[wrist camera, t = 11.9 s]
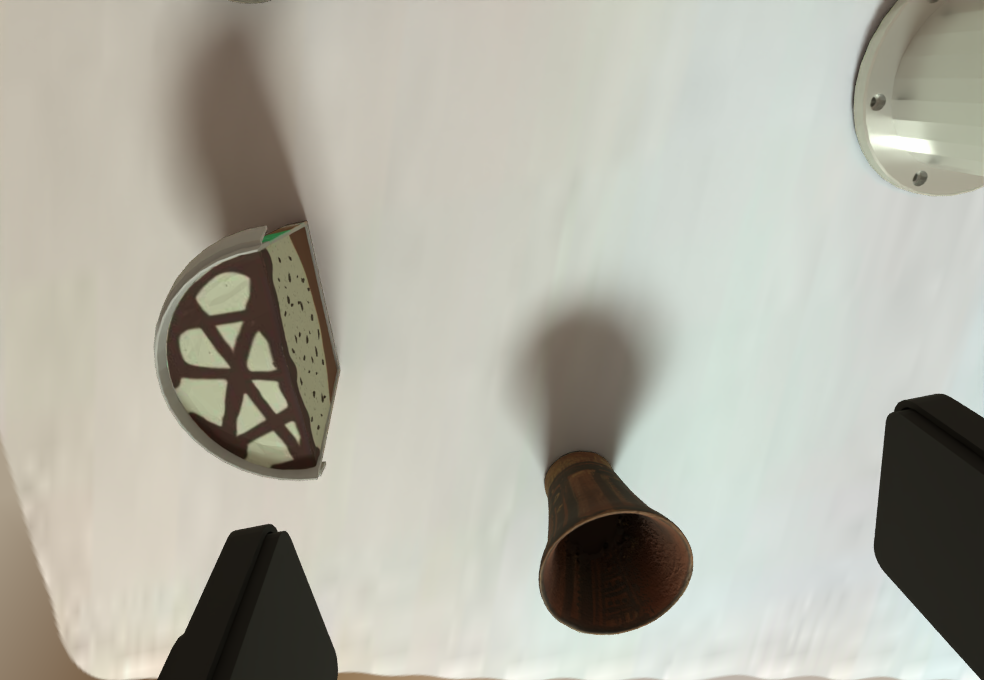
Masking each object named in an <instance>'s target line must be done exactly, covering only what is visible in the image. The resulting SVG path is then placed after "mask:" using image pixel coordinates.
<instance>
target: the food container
mask: <svg viewBox="0 0 984 680" xmlns="http://www.w3.org/2000/svg"><path fill="white" fill-rule="evenodd" d="M266 231H267V226H266V225H265V226H260V227H256V228H251V229H246V230H243V231H241V232H238V233H235V234H233V235H230V236H227V237H225V238H223V239H221V240H220V241H218V242H216V243H214V244H213V245H211V246H209V247H208V248H206V249H205V250H203V251H202V252H201V253H200V254H199V255H198V256H196V257H195V258H194V259H193V260H192V261H191V262H189V264H188V265H187V266H186V267H185V269H184V270H183V271H182V272H181V274H180V275H179V276H178V277H177V279H176V280H175V282H174V284H173V286H172V288H171V290H170V292H169V294H168V295H167V298H166V300H165V302H164V305H163V307H162V310H161V313H160V316H159V319H158V322H157V326H156V331H155V340H154V358H155V368H156V374H157V378H158V382H159V385H160V389H161V392H162V395H163V397H164V399H165V401H166V403H167V406H168V408H169V410H170V411H171V413H172V414H173V416H174V417H175V419H176V420H177V422H178V423H179V425H180V426H181V427H182V428H183V429H184V430H185V431H186V432H187V434H188V435H189V436H190V437H191V438H192V439H193V440H194V441H195V442H197V443H198V444H199V445H200V446H201V447H203V448H204V449H205V450H206V451H207V452H209V453H210V454H212V455H214V456H215V457H217V458H218V459H220V460H222V461H223V462H225V463H227V464H229V465H231V466H234V467H236V468H238V469H240V470H242V471H245V472H249V473H252V474H255V475H258V476H261V477H267V478H273V479H278V480H292V481H305V480H317V479H318V476H321V474H322V472H323V470H324V468H325V466H326V462H322V458H323V453H324V448H325V443H326V438H327V434H328V429H329V424H330V419H331V414H332V409H333V404H334V399H335V394H336V389H337V384H338V379H339V374H340V367H339V362H338V358H337V353H336V349H335V344H334V340H333V335H332V331H331V326H330V322H329V317H328V313H327V308H326V304H325V299H324V295H323V290H322V286H321V281H320V277H319V272H318V268H317V263H316V259H315V254H314V250H313V246H312V241H311V237H310V232H309V228H308V223H307V221H303V222H298V223H294V224H289V225H286V226H284V227H281V228H279V229H277V230H275V231H273V232H271V233H269V234H267V235H265V233H266Z"/></svg>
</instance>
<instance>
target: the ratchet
mask: <svg viewBox="0 0 984 680" xmlns="http://www.w3.org/2000/svg"><path fill="white" fill-rule="evenodd" d="M229 1H232V2H239V3H262V2H267V1H271V0H229Z"/></svg>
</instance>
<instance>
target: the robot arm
mask: <svg viewBox="0 0 984 680" xmlns="http://www.w3.org/2000/svg"><path fill="white" fill-rule="evenodd" d="M853 112H854V121H855V131H856V135H857V138H858V141H859V144H860V147H861V150H862V152H863V154H864V156H865V157H866V159H867V161H868V162H869V164H870V166H871V167H872V168H873V169H874V170H875V171H876V172H877V173H878V174H879V175H880V176H881V177H882V178H883V179H884V180H886V181H887V182H889V183H891V184H892V185H894V186H896V187H897V188H900V189H903V190H906V191H910V192H913V193H917V194H923V195H928V196H954V195H958V194H963V193H967V192H971V191H974V190H977V189H979V188H981V187H984V0H898V1H897V2H896V3H895V5H894V6H893V7H892V8H891V10H890V11H889V12H888V13H887V15H886V16H885V17H884V19H883V20H882V22H881V24H880V25H879V27H878V29H877V30H876V32H875V34H874V35H873V37H872V39H871V41H870V43H869V45H868V48H867V50H866V53H865V55H864V58H863V60H862V62H861V66H860V70H859V74H858V78H857V82H856V86H855V96H854V109H853ZM874 552H875V556H876V559H877V561H878V563H879V565H880V567H881V568H882V570H883V571H884V572H885V573H886V574H887V576H888V577H889V578H890V579H891V580H892V581H893V582H894V583H895V584H896V586H897V587H898V588H899V589H900V590H901V591H902V592H903V593H904V594H905V596H906V597H907V598H908V599H909V600H910V601H911V602H912V603H913V604H914V606H915V607H916V608H917V609H918V610H919V611H920V612H921V613H922V614H923V616H924V617H925V618H926V619H927V620H928V621H929V622H930V623H931V625H932V626H933V627H934V628H935V629H936V630H937V631H938V632H939V633H940V635H941V636H942V637H943V638H944V639H945V640H946V641H947V642H948V643H949V645H950V646H951V647H952V648H953V649H954V650H955V651H956V652H957V653H958V655H959V656H960V657H961V658H962V659H963V660H964V661H965V662H966V663H967V665H968V666H969V667H970V668H971V669H972V670H973V671H974V672H975V673H976V675H977V676H978V677H979V678H980V679H981V680H984V418H983V417H981V416H980V415H978V414H977V413H975V412H973V411H972V410H970V409H969V408H967V407H966V406H964V405H962V404H961V403H959V402H958V401H956V400H954V399H953V398H951V397H949V396H947V395H945V394H933V395H928V396H923V397H918V398H913V399H908V400H903V401H901V402H899V403H898V404H897V405H896V407H895V410H894V412H892V413H890V414H889V415H888V417H887V419H886V426H885V436H884V446H883V456H882V466H881V477H880V487H879V497H878V507H877V518H876V528H875V538H874ZM337 676H338V664H337V656H336V653H335V649H334V647H333V644H332V642H331V639H330V637H329V634H328V632H327V629H326V627H325V624H324V622H323V619H322V616H321V614H320V611H319V609H318V606H317V604H316V601H315V599H314V596H313V594H312V591H311V589H310V586H309V583H308V581H307V578H306V576H305V573H304V571H303V568H302V566H301V563H300V561H299V558H298V555H297V553H296V550H295V548H294V545H293V543H292V540H291V538H290V536H289V534H288V533H287V532H286V531H281V532H278V531H277V529H276V528H275V527H274V526H273V525H272V524H266V525H261V526H256V527H251V528H246V529H240V530H235V531H233V532H232V533H231V534H230V535H229V537H228V538H227V540H226V543H225V545H224V547H223V549H222V551H221V554H220V556H219V558H218V560H217V562H216V565H215V567H214V569H213V571H212V573H211V576H210V578H209V580H208V582H207V584H206V587H205V589H204V591H203V593H202V595H201V598H200V600H199V602H198V604H197V606H196V609H195V611H194V613H193V615H192V617H191V620H190V622H189V624H188V626H187V628H186V631H185V633H184V634H183V635H182V636H180V637H179V638H178V639H177V641H176V643H175V644H174V646H173V647H172V649H171V651H170V654H169V656H168V658H167V660H166V662H165V664H164V666H163V669H162V671H161V673H160V675H159V677H158V679H157V680H337Z"/></svg>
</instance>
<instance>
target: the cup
mask: <svg viewBox="0 0 984 680" xmlns="http://www.w3.org/2000/svg"><path fill="white" fill-rule="evenodd" d="M545 491H546V494H547V497H548V507H549V527H548V542H547V545H546V548H545V550H544V553H543V556H542V559H541V564H540V570H539V589H540V593H541V597H542V599H543V601H544V604H545V606H546V607H547V609H548V611H549V612H550V613H551V614H552V616H553V617H554V618H556V619H557V620H558V621H559V622H561V623H563V624H564V625H566V626H568V627H570V628H571V629H574V630H576V631H578V632H579V633H580V632H582V633H587V634H595V635H614V634H620V633H624V632H628V631H632V630H635V629H638V628H640V627H643V626H645V625H647V624H649V623H651V622H653V621H655V620H657V619H658V618H659V617H661V616H662V615H663V614H665V613H666V612H667V611H668V610H669V609H670V608H671V607H672V606H673V605H674V604H675V603H676V602H677V601H678V600H679V598H680V597H681V596H682V595H683V593H684V592H685V590H686V588H687V586H688V584H689V581H690V579H691V576H692V571H693V554H692V550H691V547H690V544H689V542H688V540H687V538H686V537H685V535H684V534H683V533H682V531H681V530H680V529H679V528H678V527H677V526H676V525H675V524H674V523H673V522H672V521H670V520H669V519H668V518H666V517H665V516H663V515H662V514H660V513H659V512H657V511H655V510H653V509H651V508H650V507H648V506H647V505H646V504H645V503H644V502H643V501H641V500H640V499H639V498H638V497H637V496H636V495H635V494H634V493H633V492H632V491H631V490H630V489H629V488H628V487H627V486H626V485H625V484H624V483H623V481H622V480H621V479H620V478H619V477H618V475H617V474H616V473H615V472H614V471H613V469H612V467H611V466H610V464H609V463H608V461H607V460H606V459H605V458H603V457H602V456H600V455H598V454H596V453H593V452H582V451H580V452H579V451H577V452H572V453H569V454H567V455H565V456H562V457H561V458H559V459H558V460H557V461H556V462H554V463H553V465H552V466H551V467H550V469H549V470H548V472H547V474H546V478H545Z"/></svg>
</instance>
